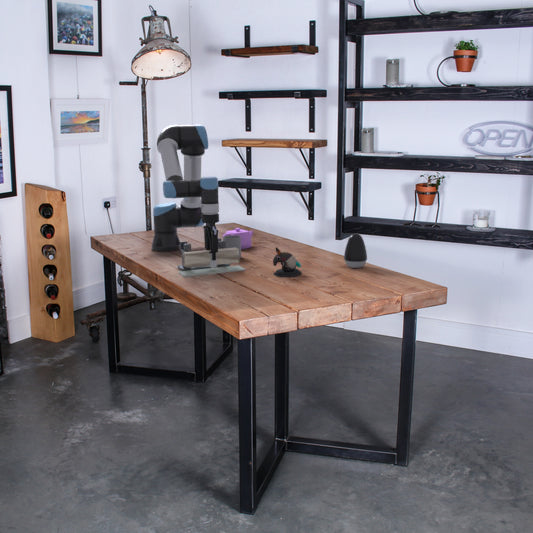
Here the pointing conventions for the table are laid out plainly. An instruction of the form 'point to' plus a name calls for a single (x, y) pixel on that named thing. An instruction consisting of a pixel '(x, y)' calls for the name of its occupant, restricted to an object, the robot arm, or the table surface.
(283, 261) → the figurine
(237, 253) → the rail
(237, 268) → the mat
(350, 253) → the black speaker
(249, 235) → the teapot
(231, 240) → the cup
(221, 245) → the rack
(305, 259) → the table surface
